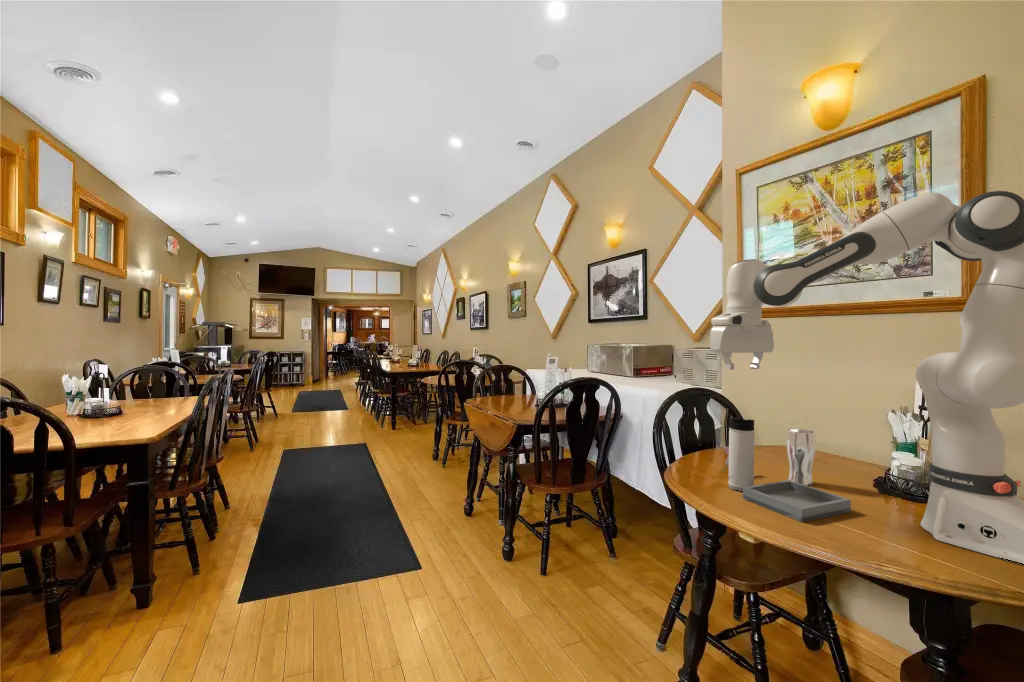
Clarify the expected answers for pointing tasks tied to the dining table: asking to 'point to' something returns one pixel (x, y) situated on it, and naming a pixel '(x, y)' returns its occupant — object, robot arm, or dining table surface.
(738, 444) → the travel mug
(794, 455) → the beer glass
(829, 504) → the serving tray
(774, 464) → the dining table surface
